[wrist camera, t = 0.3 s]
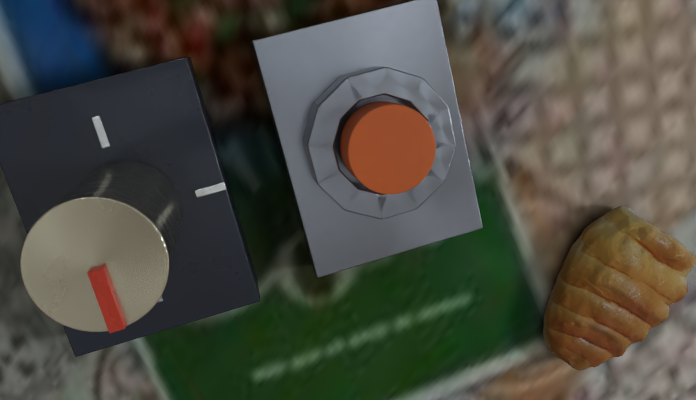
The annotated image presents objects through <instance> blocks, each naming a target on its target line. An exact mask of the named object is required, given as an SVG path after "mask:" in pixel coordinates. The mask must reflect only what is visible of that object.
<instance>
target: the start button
mask: <svg viewBox="0 0 696 400" xmlns="http://www.w3.org/2000/svg"><path fill="white" fill-rule="evenodd" d="M340 152H341V157H342V160H343V162H344V164H345V166H346V168H347V169H348V171H349V172H350V173H351V174H352V175H353V176H354V177H355V178H356V179H357V180H358V181H359V182H360V183H362V184H363V185H364V186H365V187H367V188H368V189H370V190H372V191H374V192H377V193H381V194H398V193H403V192H405V191H408V190H410V189H412V188H414V187H415V186H416V185H418V184H419V183H420V182H421V181H422V180H423V179H424V178H425V177H426V175H427V174H428V173H429V171H430V169H431V167H432V165H433V162H434V158H435V152H436V143H435V137H434V133H433V131H432V128H431V126H430V125H429V123H428V122H427V120H426V119H425V118H424V117H423V116H422V115H421V114H420V113H419V112H417V111H416V110H414V109H412V108H410V107H407V106H404V105H401V104H397V103H393V102H388V101H378V102H373V103H370V104H367V105H365V106H363V107H361V108H360V109H358V110H357V111H356V112H354V113H353V114H352V115H351V117H350V118H349V119H348V121H347V122H346V124H345V126H344V128H343V131H342V134H341V138H340Z"/></svg>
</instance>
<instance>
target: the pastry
mask: <svg viewBox="0 0 696 400" xmlns="http://www.w3.org/2000/svg"><path fill="white" fill-rule="evenodd" d="M695 264H696V258H695V256H694V254H692V253H691V252H690V251H689V250H688V249H687V248H686V247H684V246H683V245H682V244H681V243H679V242H678V241H677V240H676V239H675V238H673V237H672V236H670V235H668V234H665V233H663V232H661V231H660V230H659V229H658V228H657V227H656V226H653V225H651V224H649V223H648V222H647V221H645V220H644V219H642V218H640V217H639V215H638V214H637V213H636V212H634V211H632V210H631V209H630V208H628V207H622V206H620V207H618V208H615V209H613V210H611V211H610V212H608V213H606V214H605V215H603V216H602V217H600V218H599V219H597V220H596V221H594V222H592V223H591V224H589V225H588V226H587V227H586V228H585V229H584V231H583V232H582V234H581V235H580V237H579V238H578V239H577V241H576V242H575V243H574V244H573V245H572V247H571V249H570V251H569V253H568V256H567V257H566V259H565V260H564V264H563V267H562V268H561V270H560V272H559V274H558V276H557V280H556V283H555V286H554V288H552V292H551V295H550V297H549V300H548V303H547V307H546V310H545V313H544V328H543V336H544V340H545V343H546V345H547V347H548V349H549V350H550V351H551V352H553V353H554V354H555V355H556V356H557V357H559V358H560V359H562V360H564V361H565V362H566V363H568V364H569V365H570V366H572V367H573V368H575V369H577V370H584V369H586V368H589V367H596V366H598V365H600V364H602V363H604V362H606V361H607V360H609V359H611V358H613V357H619V356H622V355H623V354H624V352H625V351H626V349H627V348H628V347H629V346H630V345H631V344H633V343H636V342H639V341H643V340H644V339H645V338H646V336H647V334H648V332H649V330H650V329H651V328H653V327H655V326H658V325H659V324H660V323H661V322H663V321H664V320H666V319H667V318H668V316H669V305H670V304H672V303H675V302H679V301H681V300H682V299H683V298H684V296H685V295H686V293H687V291H688V289H687V281H686V276H687V275H688V273H689V272H690V271H691V269H692V267H693V266H694V265H695Z"/></svg>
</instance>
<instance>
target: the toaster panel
mask: <svg viewBox="0 0 696 400" xmlns="http://www.w3.org/2000/svg"><path fill="white" fill-rule="evenodd" d="M122 160H131V161H138V162H142V163H146V164H149V165H151V166H153V167H155V168H157V169H158V170H160V171H161V172H162V173H164V174H165V175H166V176H167V177H168V178H169V179H170V180H171V181H172V183H173V184H174V185H175V187H176V189H177V190H178V192H179V195H180V197H181V201H182V205H183V220H182V226H181V230H180V234H179V238H178V242H177V246H176V250H175V254H174V258H173V262H172V266H171V270H170V274H169V278H168V281H167V284H166V288H165V290H164V292H163V294H162V296H161V298H160V299H159V301H158V302H157V304H156V305H155V306H154V307H153V308H152V309H151V310H150V311H149V312H148V313H147V314H146V315H145V316H143V317H142V318H140V319H139V320H138V321H136V322H134V323H132V324H130V325H128V326H126V328H125V329H123V330H120V331H116V332H113V333H109V331H104V332H88V331H81V330H77V329H73V328H70V327H67V326H64V325H63V326H64V329H65V332H66V334H67V337H68V339H69V342H70V344H71V347H72V349H73V352H74V355H75V356H76V357H77V356H80V355H83V354H87V353H90V352H93V351H97V350H100V349H103V348H107V347H110V346H113V345H117V344H120V343H123V342H126V341H130V340H133V339H136V338H140V337H143V336H146V335H150V334H153V333H156V332H160V331H163V330H166V329H169V328H173V327H176V326H179V325H183V324H186V323H189V322H193V321H196V320H199V319H203V318H206V317H209V316H213V315H216V314H219V313H222V312H226V311H229V310H232V309H236V308H239V307H242V306H246V305H249V304H252V303H256V302H259V301H260V295H259V288H258V281H257V278H256V274H255V271H254V268H253V264H252V261H251V258H250V254H249V251H248V248H247V244H246V241H245V238H244V234H243V231H242V228H241V224H240V221H239V218H238V214H237V211H236V208H235V205H234V201H233V198H232V195H231V191H230V188H229V185H228V181H227V178H226V175H225V171H224V168H223V165H222V161H221V158H220V155H219V151H218V148H217V145H216V141H215V138H214V135H213V131H212V128H211V125H210V121H209V118H208V115H207V111H206V108H205V105H204V101H203V98H202V95H201V91H200V88H199V85H198V82H197V78H196V75H195V72H194V68H193V65H192V62H191V58H190V57H184V58H180V59H176V60H172V61H168V62H164V63H160V64H156V65H152V66H148V67H144V68H140V69H136V70H132V71H129V72H125V73H121V74H117V75H113V76H109V77H105V78H101V79H97V80H93V81H89V82H85V83H81V84H77V85H73V86H69V87H65V88H61V89H57V90H53V91H49V92H45V93H41V94H37V95H33V96H29V97H25V98H22V99H18V100H14V101H10V102H6V103H2V104H0V165H1V167H2V170H3V172H4V175H5V178H6V180H7V183H8V185H9V188H10V190H11V193H12V196H13V198H14V201H15V203H16V206H17V208H18V211H19V214H20V216H21V219H22V221H23V224H24V226H25V229H26V231H27V234H28V232H29V231H30V229H31V227H32V226H33V225H34V223H35V222H36V221H37V220H38V219H39V218H40V217H41V216H42V215H43V214H44V213H45V212H47V211H48V210H49V209H50V208H51V207H52V206H53V205H55V204H56V203H57V202H58V201H59V200H60V199H61V198H63V197H64V196H65V195H66V194H67V193H68V192H69V191H71V190H72V189H73V188H74V187H75V186H76V185H77V184H79V183H80V182H81V181H82V180H83V179H84V178H85V177H87V176H88V175H89V174H90V173H91V172H92V171H94V170H95V169H97V168H99V167H101V166H103V165H105V164H108V163H111V162H115V161H122Z"/></svg>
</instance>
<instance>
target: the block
mask: <svg viewBox="0 0 696 400" xmlns="http://www.w3.org/2000/svg"><path fill="white" fill-rule="evenodd" d="M251 46H252V50H253V53H254V57H255V61H256V64H257V68H258V71H259V75H260V79H261V82H262V86H263V89H264V93H265V97H266V100H267V104H268V108H269V111H270V115H271V118H272V122H273V126H274V129H275V133H276V137H277V140H278V144H279V147H280V151H281V155H282V158H283V162H284V166H285V169H286V173H287V176H288V180H289V184H290V187H291V191H292V195H293V198H294V202H295V205H296V209H297V213H298V216H299V220H300V224H301V227H302V231H303V234H304V238H305V242H306V245H307V249H308V253H309V256H310V260H311V263H312V266H313V268H314V271H315V273H316V276H317V277H318V278H319V277H322V276H325V275H329V274H332V273H335V272H339V271H342V270H345V269H349V268H352V267H355V266H359V265H362V264H365V263H369V262H372V261H375V260H379V259H382V258H385V257H388V256H392V255H395V254H398V253H402V252H405V251H408V250H412V249H415V248H418V247H422V246H425V245H428V244H432V243H435V242H438V241H442V240H445V239H448V238H452V237H455V236H458V235H462V234H465V233H468V232H472V231H475V230H478V229H481V228H483V226H482V221H481V216H480V211H479V206H478V201H477V196H476V191H475V186H474V181H473V177H472V172H471V167H470V162H469V157H468V152H467V147H466V142H465V137H464V132H463V127H462V122H461V117H460V112H459V107H458V102H457V97H456V92H455V87H454V82H453V77H452V72H451V67H450V62H449V57H448V52H447V47H446V43H445V38H444V33H443V28H442V23H441V18H440V13H439V8H438V3H437V0H411V1H407V2H403V3H399V4H395V5H391V6H387V7H383V8H379V9H375V10H371V11H367V12H363V13H359V14H355V15H351V16H347V17H343V18H339V19H335V20H332V21H328V22H324V23H320V24H316V25H312V26H308V27H304V28H300V29H296V30H292V31H288V32H284V33H280V34H276V35H272V36H268V37H264V38H260V39H256V40H253V41H251ZM378 101H388V102H393V103H397V104H401V105H404V106H407V107H410V108H412V109H414V110H416V111H417V112H419V113H420V114H421V115H422V116H423V117H424V118H425V119H426V120H427V122H428V123H429V125H430V126H431V128H432V131H433V133H434V137H435V143H436V152H435V158H434V162H433V165H432V167H431V169H430V171H429V173H428V174H427V175H426V177H425V178H424V179H423V180H422V181H421V182H420V183H419V184H418V185H416V186H415V187H414V188H412V189H410V190H408V191H405V192H403V193H398V194H381V193H377V192H374V191H372V190H370V189H368V188H367V187H365V186H364V185H363V184H362V183H360V182H359V181H358V180H357V179H356V178H355V177H354V176H353V175H352V174H351V173H350V172H349V171H348V169H347V168H346V166H345V164H344V162H343V160H342V157H341V152H340V138H341V134H342V131H343V128H344V126H345V124H346V122H347V121H348V119H349V118H350V117H351V115H352V114H353V113H354V112H356V111H357V110H358V109H360V108H361V107H363V106H365V105H367V104H370V103H373V102H378Z"/></svg>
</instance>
